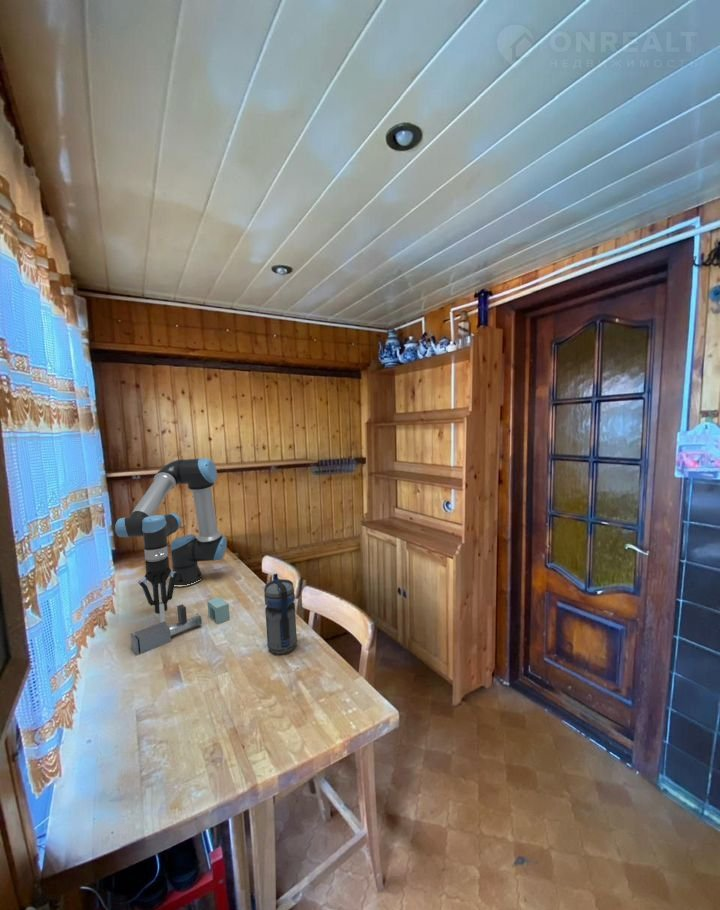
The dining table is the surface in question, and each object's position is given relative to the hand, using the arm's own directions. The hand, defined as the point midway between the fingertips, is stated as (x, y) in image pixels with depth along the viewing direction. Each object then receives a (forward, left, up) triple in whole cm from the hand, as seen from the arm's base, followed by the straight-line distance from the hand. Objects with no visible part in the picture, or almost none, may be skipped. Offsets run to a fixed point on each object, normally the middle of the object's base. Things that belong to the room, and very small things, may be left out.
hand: (161, 620), depth 138 cm
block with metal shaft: (0, +3, -8) cm, 8 cm away
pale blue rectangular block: (0, +21, -8) cm, 22 cm away
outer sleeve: (0, -3, -8) cm, 8 cm away
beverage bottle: (+38, +28, -8) cm, 47 cm away
